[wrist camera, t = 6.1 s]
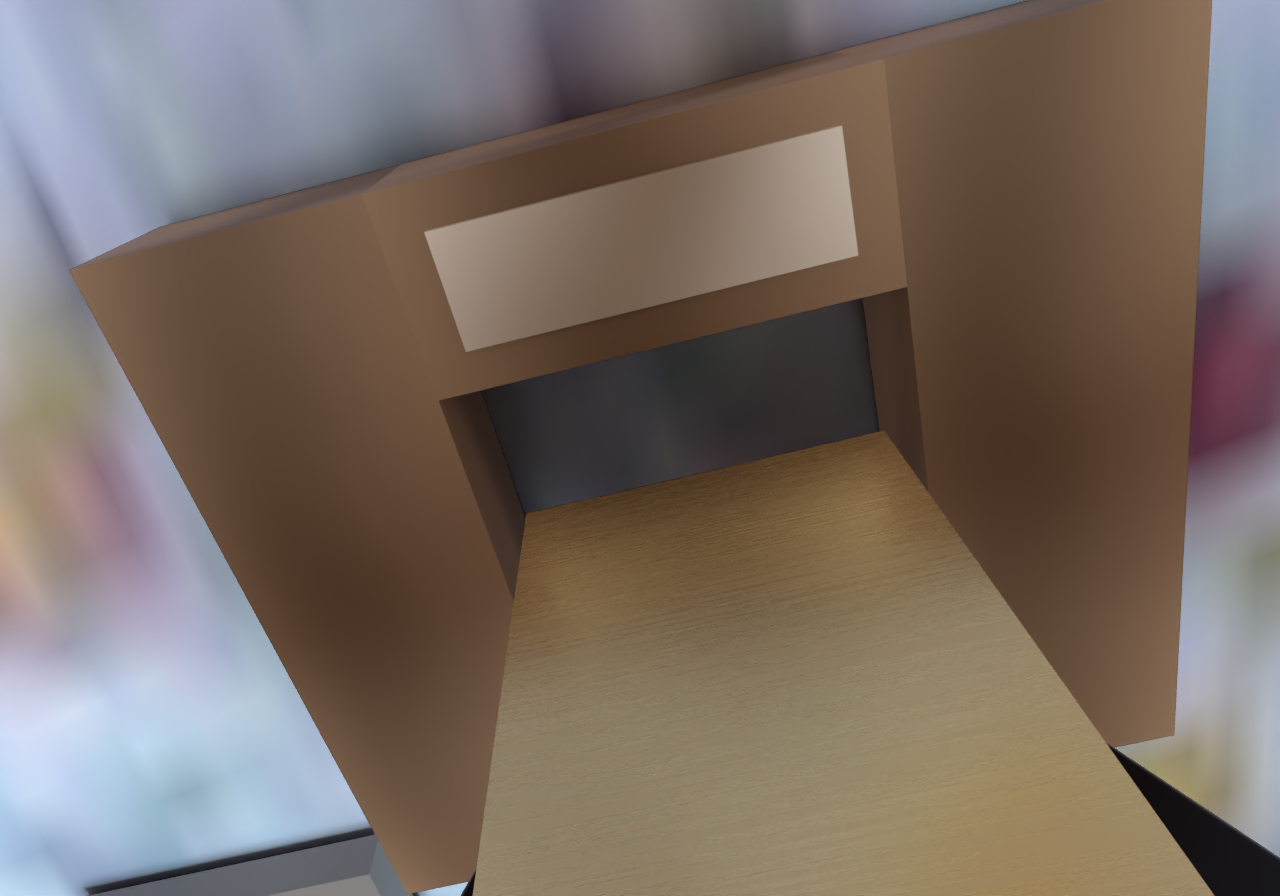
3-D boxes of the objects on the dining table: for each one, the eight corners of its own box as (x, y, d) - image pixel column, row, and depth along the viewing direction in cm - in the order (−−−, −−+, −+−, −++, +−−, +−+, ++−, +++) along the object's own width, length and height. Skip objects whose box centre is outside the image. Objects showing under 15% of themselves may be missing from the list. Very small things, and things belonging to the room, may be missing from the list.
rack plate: (1099, -19, 12) (1219, -28, 10) (1099, 643, 17) (1177, 739, 15) (159, 227, 13) (63, 272, 11) (430, 787, 18) (406, 898, 16)
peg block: (884, 430, 10) (1548, 1365, 3) (918, 705, 12) (1377, 1676, 5) (526, 513, 11) (380, 1551, 3) (614, 769, 12) (640, 1775, 5)
